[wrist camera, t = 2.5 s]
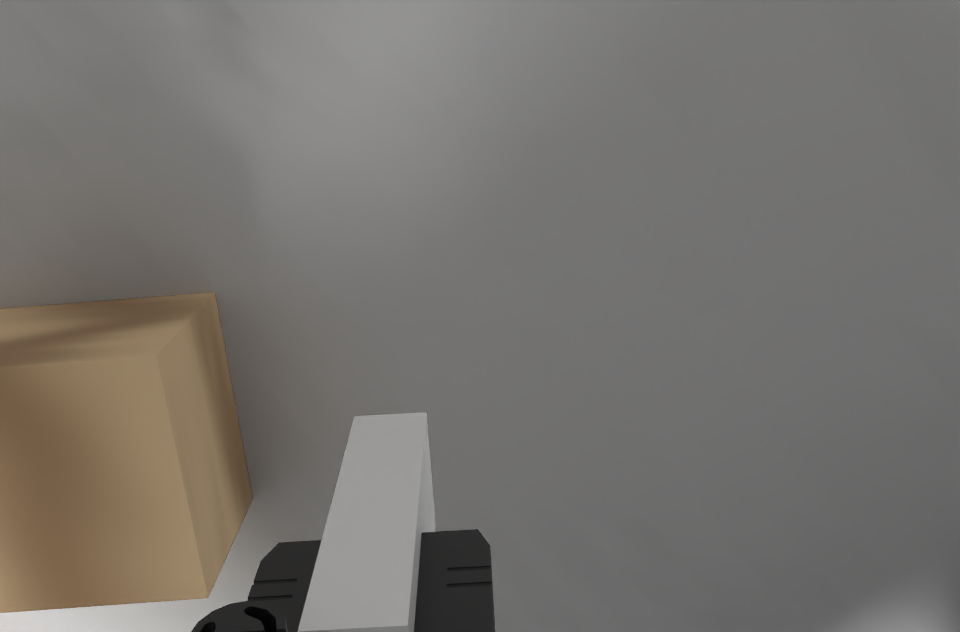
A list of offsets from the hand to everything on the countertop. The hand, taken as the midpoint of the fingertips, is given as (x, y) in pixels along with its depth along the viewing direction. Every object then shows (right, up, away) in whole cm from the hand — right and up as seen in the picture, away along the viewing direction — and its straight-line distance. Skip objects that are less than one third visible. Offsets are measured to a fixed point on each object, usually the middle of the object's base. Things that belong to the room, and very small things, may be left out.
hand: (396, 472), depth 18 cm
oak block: (-8, +1, +5) cm, 9 cm away
